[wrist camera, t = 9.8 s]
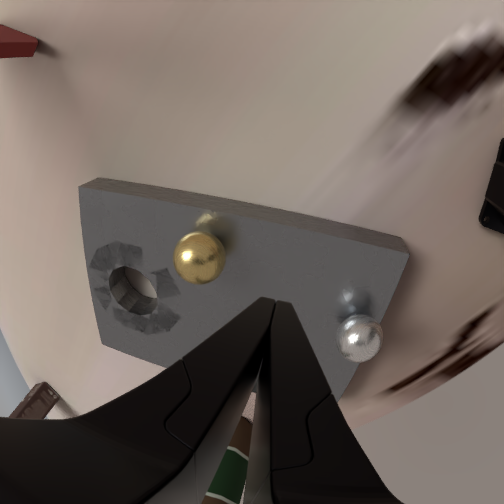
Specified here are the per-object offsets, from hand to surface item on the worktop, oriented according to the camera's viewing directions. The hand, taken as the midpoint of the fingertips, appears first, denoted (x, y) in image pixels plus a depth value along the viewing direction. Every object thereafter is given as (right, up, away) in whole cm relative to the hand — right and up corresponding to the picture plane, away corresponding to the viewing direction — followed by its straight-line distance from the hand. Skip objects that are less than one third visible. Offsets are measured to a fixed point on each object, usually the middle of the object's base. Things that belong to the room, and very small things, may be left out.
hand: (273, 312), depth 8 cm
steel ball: (+6, -4, +11) cm, 13 cm away
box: (-38, -24, +36) cm, 57 cm away
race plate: (-3, -2, +16) cm, 17 cm away
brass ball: (-4, +1, +10) cm, 11 cm away
